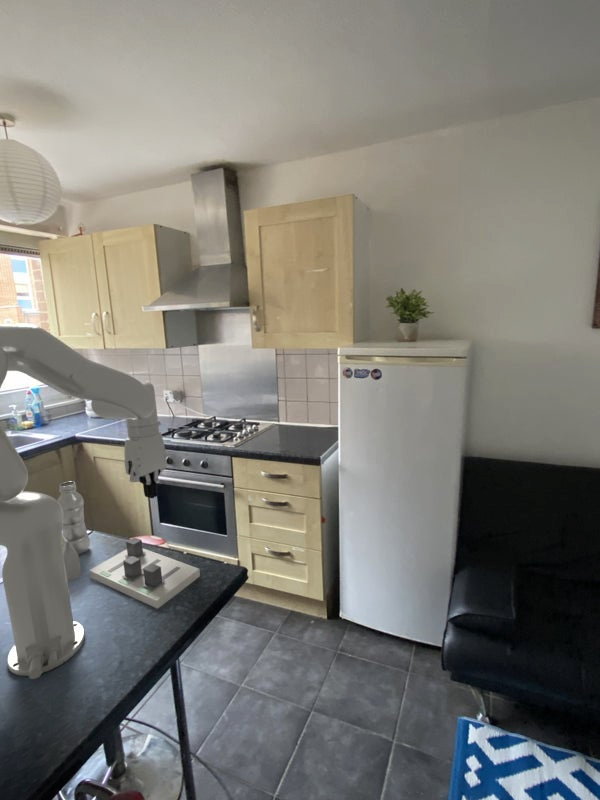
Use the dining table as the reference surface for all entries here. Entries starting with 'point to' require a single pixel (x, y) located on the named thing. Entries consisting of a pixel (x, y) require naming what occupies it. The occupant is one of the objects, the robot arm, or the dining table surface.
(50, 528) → the robot arm
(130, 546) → the block
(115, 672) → the dining table surface
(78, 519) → the plastic bottle
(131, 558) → the block
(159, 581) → the breaker near
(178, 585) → the panel
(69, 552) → the white printed box
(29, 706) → the dining table surface
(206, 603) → the dining table surface
